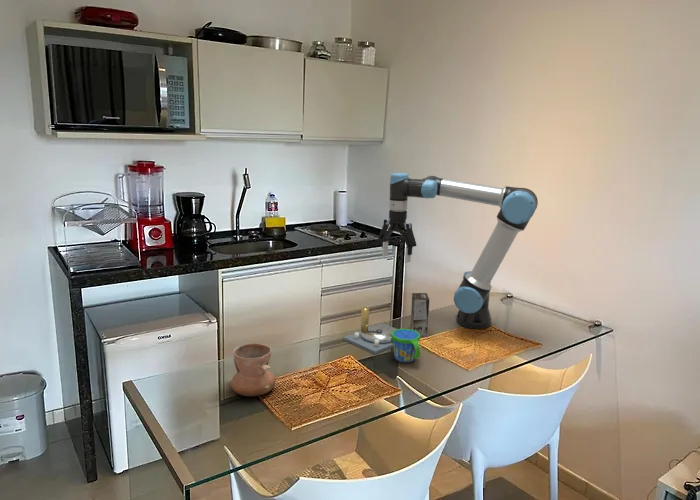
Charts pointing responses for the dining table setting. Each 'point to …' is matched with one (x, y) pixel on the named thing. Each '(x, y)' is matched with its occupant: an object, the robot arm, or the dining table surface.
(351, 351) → the dining table surface
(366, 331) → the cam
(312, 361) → the dining table surface
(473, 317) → the robot arm
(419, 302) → the coffee box
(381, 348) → the stand
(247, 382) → the ceramic jug
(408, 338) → the snack cup
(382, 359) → the dining table surface
